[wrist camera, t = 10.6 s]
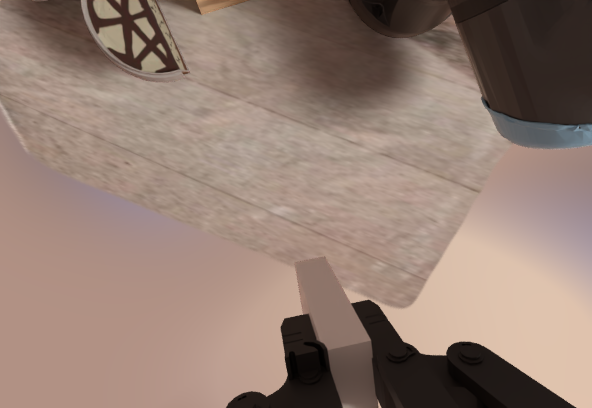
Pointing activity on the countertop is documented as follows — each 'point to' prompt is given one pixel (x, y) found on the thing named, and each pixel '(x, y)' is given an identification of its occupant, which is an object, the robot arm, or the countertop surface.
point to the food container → (135, 38)
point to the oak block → (215, 4)
